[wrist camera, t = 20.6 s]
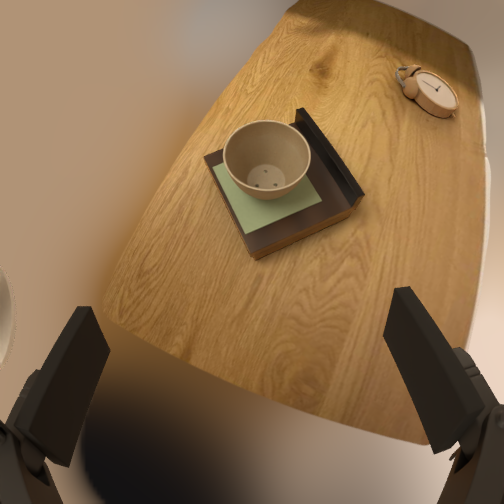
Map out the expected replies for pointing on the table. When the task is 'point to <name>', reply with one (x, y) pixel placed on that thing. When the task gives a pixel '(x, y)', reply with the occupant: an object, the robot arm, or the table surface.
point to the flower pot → (266, 158)
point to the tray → (291, 196)
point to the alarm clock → (428, 91)
